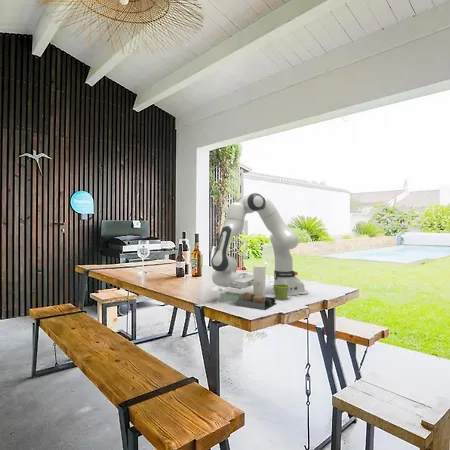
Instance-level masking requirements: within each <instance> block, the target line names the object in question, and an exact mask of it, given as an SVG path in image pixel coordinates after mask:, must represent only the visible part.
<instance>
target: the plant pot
mask: <svg viewBox="0 0 450 450" xmlns="http://www.w3.org/2000/svg"><path fill="white" fill-rule="evenodd" d="M273 287H274V291H275V293H274V298H275V300H278V301H279V300H280V301H281V300H282V301H285V300H287V299H288V298H287V297H288V296H287V292H288V288H289V285H285V284H275V285H274V284H273V285H272V288H273Z"/></svg>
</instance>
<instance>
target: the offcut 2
mask: <svg viewBox="0 0 450 450" xmlns="http://www.w3.org/2000/svg"><path fill="white" fill-rule="evenodd" d="M265 297H266V296H265ZM265 297H262V296H254V297H253V302H258V303H265Z"/></svg>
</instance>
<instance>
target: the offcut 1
mask: <svg viewBox="0 0 450 450" xmlns="http://www.w3.org/2000/svg"><path fill="white" fill-rule="evenodd" d="M242 294H243V300H244V301H251V302H253V297H254V294H253V292H245V293H242Z"/></svg>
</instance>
